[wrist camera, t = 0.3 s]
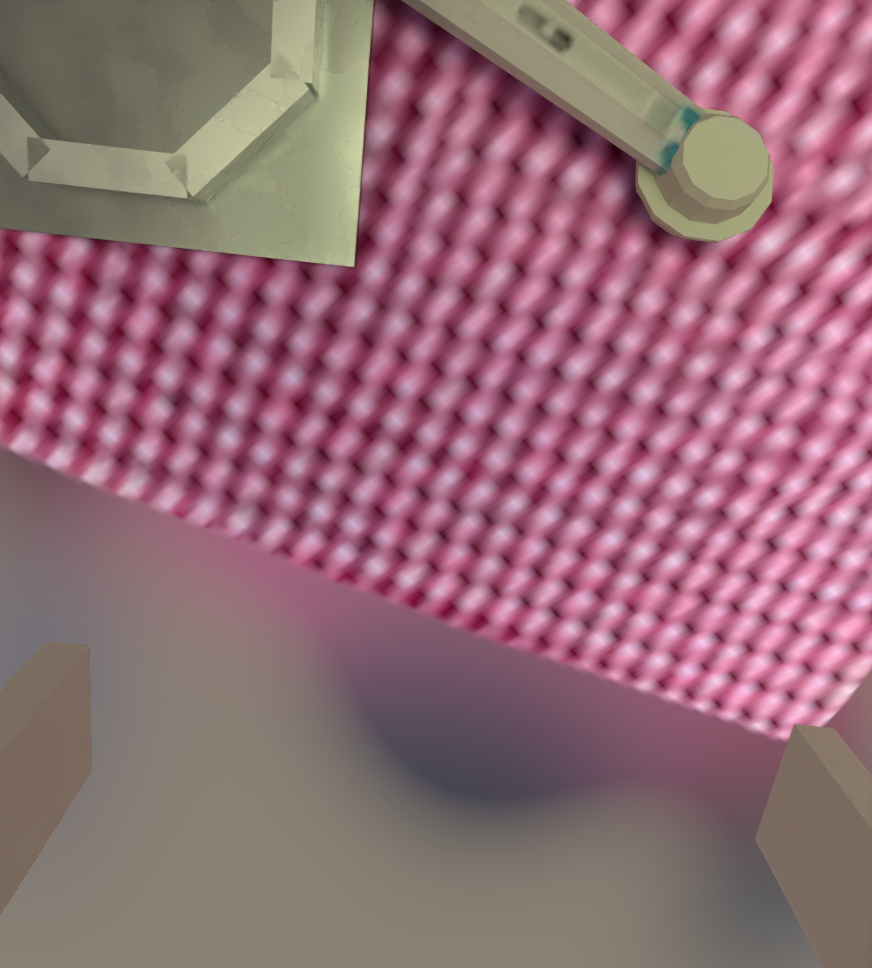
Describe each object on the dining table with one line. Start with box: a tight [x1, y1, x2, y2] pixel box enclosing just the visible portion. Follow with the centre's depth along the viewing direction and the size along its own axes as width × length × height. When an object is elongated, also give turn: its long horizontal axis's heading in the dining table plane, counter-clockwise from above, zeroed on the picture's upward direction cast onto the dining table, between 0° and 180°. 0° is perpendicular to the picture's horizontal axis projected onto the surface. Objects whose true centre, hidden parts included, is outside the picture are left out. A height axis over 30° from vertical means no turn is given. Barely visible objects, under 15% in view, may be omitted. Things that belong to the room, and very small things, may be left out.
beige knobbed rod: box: [401, 0, 774, 243], centre depth 33 cm, size 5×7×25 cm
